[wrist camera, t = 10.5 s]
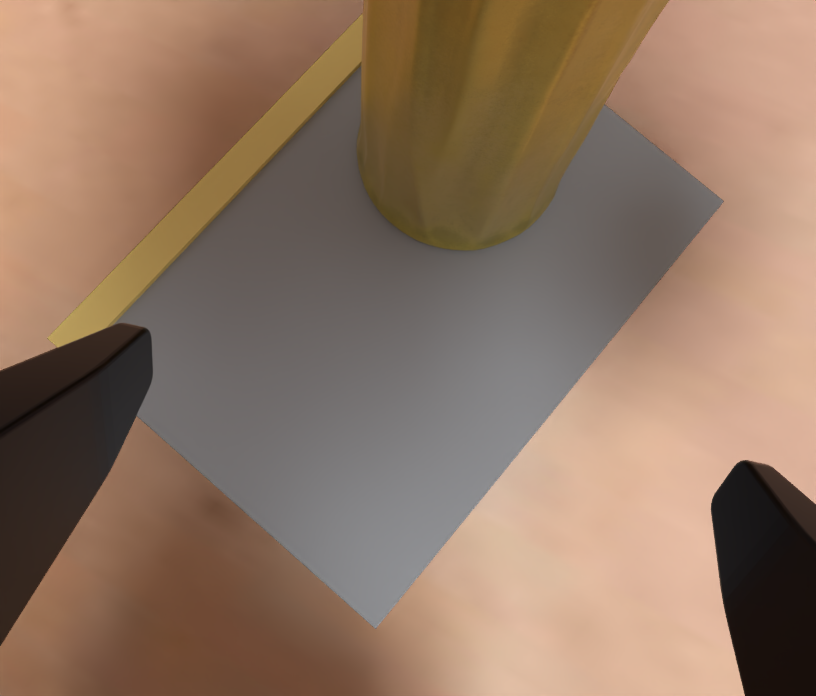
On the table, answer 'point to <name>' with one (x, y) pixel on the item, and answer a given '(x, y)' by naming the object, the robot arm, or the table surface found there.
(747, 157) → the table surface
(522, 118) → the vase
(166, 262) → the gray and yellow box
